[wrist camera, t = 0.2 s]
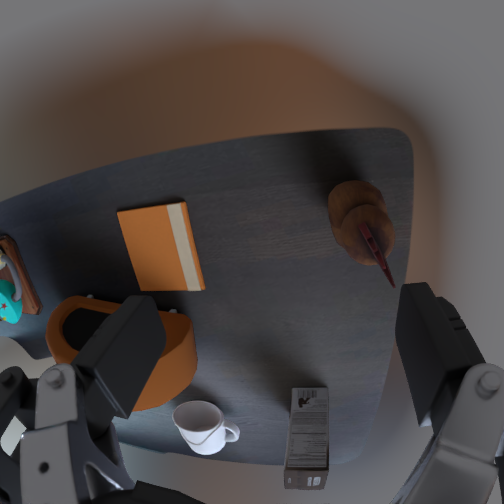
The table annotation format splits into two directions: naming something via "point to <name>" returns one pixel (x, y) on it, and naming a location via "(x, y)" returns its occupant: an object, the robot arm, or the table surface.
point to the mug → (204, 426)
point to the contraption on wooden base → (15, 284)
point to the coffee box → (307, 440)
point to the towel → (162, 247)
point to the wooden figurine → (362, 223)
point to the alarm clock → (88, 321)
